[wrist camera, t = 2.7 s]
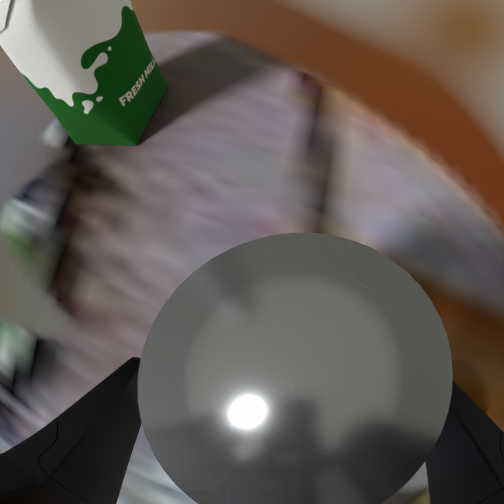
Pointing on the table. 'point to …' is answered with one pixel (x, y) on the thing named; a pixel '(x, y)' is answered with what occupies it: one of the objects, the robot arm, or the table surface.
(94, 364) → the table surface
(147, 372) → the disc
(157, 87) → the milk carton
